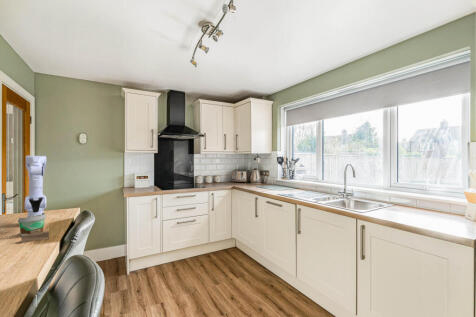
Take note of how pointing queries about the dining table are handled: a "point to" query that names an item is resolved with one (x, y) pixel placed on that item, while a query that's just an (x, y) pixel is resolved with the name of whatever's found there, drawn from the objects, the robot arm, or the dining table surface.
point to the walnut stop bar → (34, 236)
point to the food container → (31, 224)
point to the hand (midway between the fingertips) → (35, 211)
